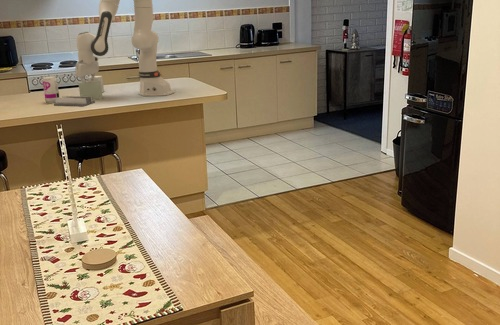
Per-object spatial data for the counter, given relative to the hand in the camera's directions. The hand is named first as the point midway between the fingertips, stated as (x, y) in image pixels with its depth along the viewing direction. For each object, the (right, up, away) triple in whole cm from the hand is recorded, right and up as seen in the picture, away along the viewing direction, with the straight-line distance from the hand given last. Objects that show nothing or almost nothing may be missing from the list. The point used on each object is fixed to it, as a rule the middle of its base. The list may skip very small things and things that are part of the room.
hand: (88, 82), depth 331 cm
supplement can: (-20, -13, -4) cm, 24 cm away
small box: (-1, -4, +23) cm, 23 cm away
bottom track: (-4, -15, -13) cm, 20 cm away
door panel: (+1, -10, +3) cm, 10 cm away
